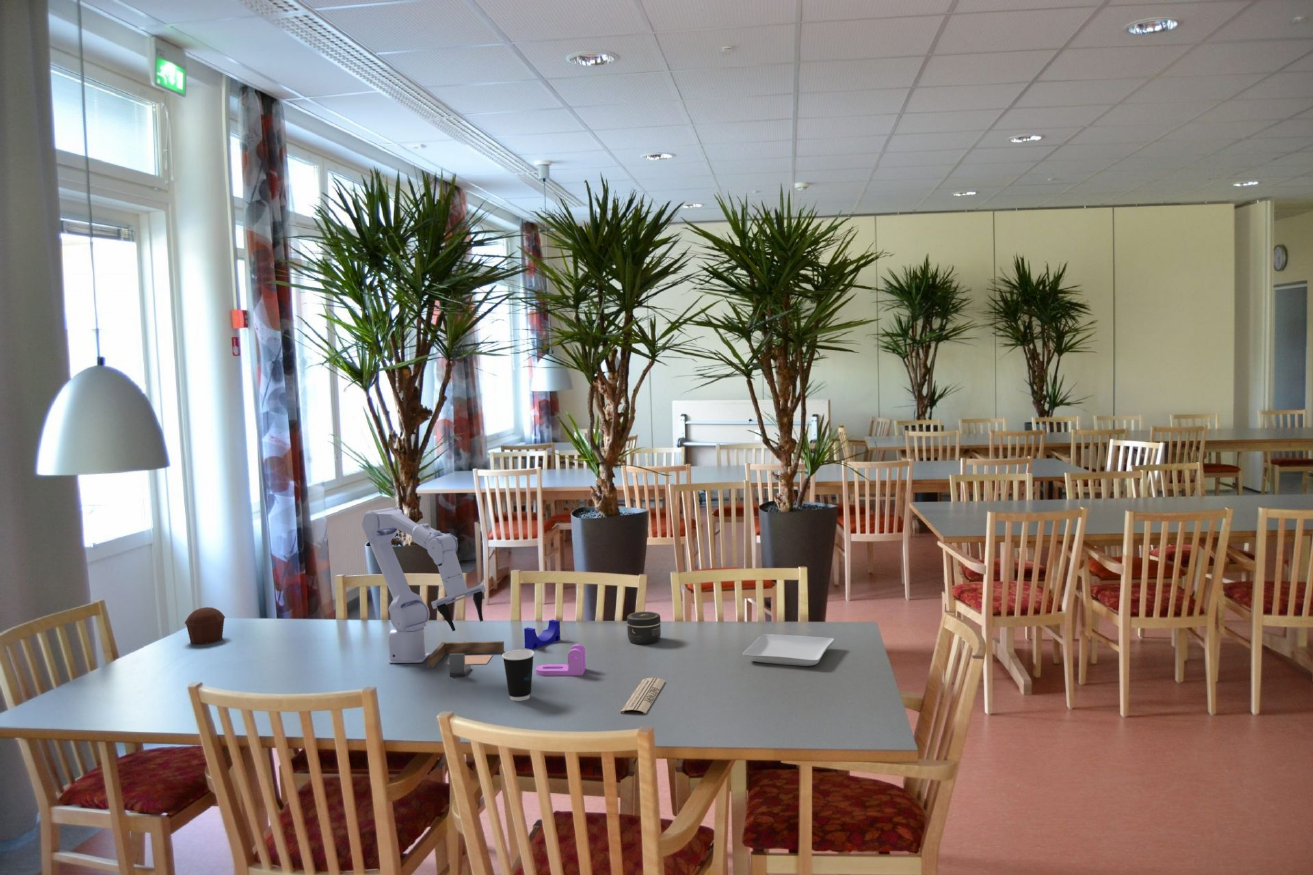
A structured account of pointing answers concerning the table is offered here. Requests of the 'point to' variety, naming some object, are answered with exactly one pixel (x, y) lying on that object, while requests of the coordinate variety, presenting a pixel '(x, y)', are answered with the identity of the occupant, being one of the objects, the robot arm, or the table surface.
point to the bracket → (572, 668)
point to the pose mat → (477, 659)
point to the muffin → (205, 625)
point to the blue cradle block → (542, 635)
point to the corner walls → (464, 649)
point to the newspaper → (644, 695)
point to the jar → (643, 627)
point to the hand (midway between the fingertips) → (468, 625)
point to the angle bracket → (458, 665)
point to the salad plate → (788, 649)
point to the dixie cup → (519, 673)
